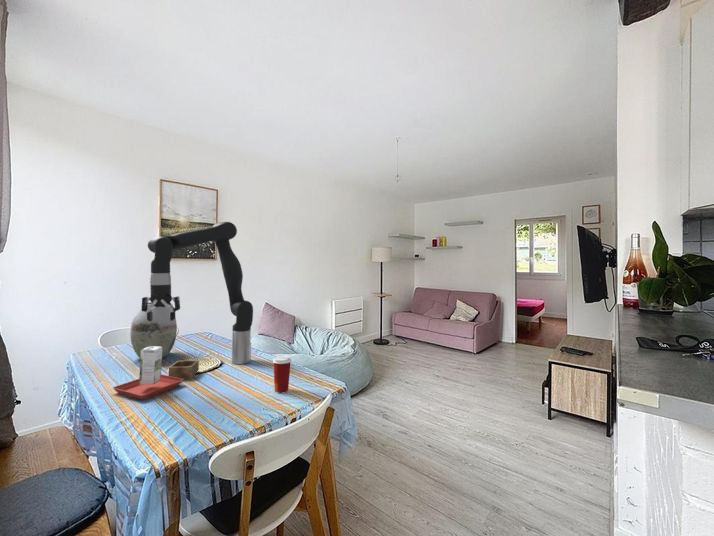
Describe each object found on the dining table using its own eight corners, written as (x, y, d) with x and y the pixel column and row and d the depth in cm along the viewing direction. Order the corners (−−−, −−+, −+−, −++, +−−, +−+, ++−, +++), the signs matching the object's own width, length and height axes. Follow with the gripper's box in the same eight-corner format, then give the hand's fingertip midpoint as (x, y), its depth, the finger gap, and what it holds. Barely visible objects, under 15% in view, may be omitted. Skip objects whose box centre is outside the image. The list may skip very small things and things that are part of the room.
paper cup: (294, 388, 132) (294, 356, 132) (284, 395, 125) (285, 361, 125) (278, 385, 135) (279, 354, 134) (268, 392, 127) (268, 359, 127)
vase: (184, 356, 172) (185, 302, 171) (141, 366, 154) (142, 306, 153) (164, 349, 183) (165, 299, 183) (122, 358, 165) (123, 303, 165)
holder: (198, 371, 149) (198, 360, 149) (191, 378, 140) (191, 366, 140) (177, 372, 147) (177, 360, 147) (168, 379, 138) (168, 367, 138)
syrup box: (146, 380, 130) (147, 346, 130) (161, 380, 131) (162, 346, 131) (138, 385, 124) (139, 349, 124) (154, 384, 125) (155, 349, 125)
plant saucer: (111, 395, 122) (111, 387, 122) (155, 379, 139) (155, 372, 139) (141, 404, 116) (141, 395, 116) (184, 386, 132) (184, 379, 132)
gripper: (182, 282, 137) (182, 318, 138) (146, 282, 134) (147, 319, 135) (175, 284, 130) (175, 322, 130) (138, 284, 127) (138, 323, 128)
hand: (161, 320), depth 133 cm, fingers open, 8 cm apart
